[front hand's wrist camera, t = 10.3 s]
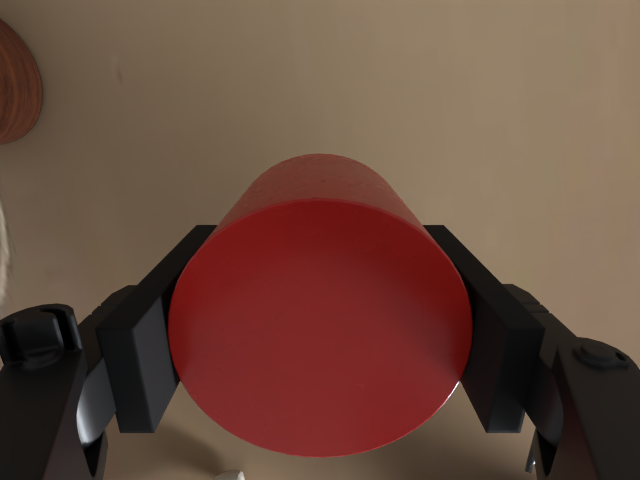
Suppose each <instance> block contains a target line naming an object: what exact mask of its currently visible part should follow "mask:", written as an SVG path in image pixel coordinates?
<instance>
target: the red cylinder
mask: <svg viewBox="0 0 640 480" xmlns="http://www.w3.org/2000/svg"><path fill="white" fill-rule="evenodd" d="M167 331H168V341H169V349H170V353H171V357H172V360H173V364H174V367H175V369H176V371H177V374H178V376H179V378H180V380H181V382H182V384H183V385H184V387H185V389H186V390H187V392H188V394H189V395H190V396H191V398H192V399H193V400H194V401H195V403H196V404H197V405H198V406H199V407H200V408H201V409H202V410H203V411H204V412H205V413H206V414H207V415H208V416H209V417H210V418H211V419H212V420H213V421H215V422H216V423H217V424H219V425H220V426H221V427H222V428H224V429H225V430H227V431H228V432H230V433H232V434H233V435H235V436H237V437H238V438H240V439H243V440H245V441H247V442H249V443H251V444H253V445H256V446H259V447H262V448H264V449H267V450H270V451H274V452H278V453H283V454H287V455H294V456H301V457H319V458H324V457H340V456H346V455H353V454H358V453H362V452H366V451H370V450H373V449H376V448H379V447H382V446H384V445H387V444H390V443H392V442H394V441H396V440H398V439H400V438H402V437H404V436H406V435H407V434H409V433H410V432H412V431H413V430H415V429H417V428H418V427H420V426H421V425H422V424H423V423H424V422H426V421H427V420H428V419H429V418H431V417H432V416H433V415H434V414H435V413H436V412H437V411H438V410H439V409H440V408H441V407H442V406H443V405H444V403H445V402H446V401H447V399H448V398H449V397H450V395H451V394H452V393H453V391H454V390H455V388H456V386H457V384H458V383H459V381H460V379H461V377H462V375H463V372H464V370H465V367H466V365H467V362H468V359H469V354H470V350H471V345H472V333H473V321H472V309H471V305H470V301H469V297H468V293H467V290H466V288H465V286H464V283H463V281H462V278H461V276H460V274H459V273H458V271H457V269H456V268H455V266H454V264H453V263H452V261H451V260H450V258H449V257H448V256H447V255H446V253H445V252H444V251H443V250H442V249H441V247H440V246H439V245H438V244H437V242H436V241H435V240H434V239H433V238H432V236H431V235H430V234H429V233H428V231H427V230H426V229H425V228H424V227H423V225H422V224H421V223H420V222H419V221H418V219H417V218H416V217H415V216H414V214H413V213H412V212H411V211H410V210H409V208H408V207H407V206H406V205H405V203H404V202H403V201H402V200H401V199H400V197H399V196H398V195H397V194H396V193H395V191H394V190H393V189H392V188H391V187H390V185H389V184H388V183H387V182H386V181H385V180H384V179H383V178H382V177H381V176H380V175H379V174H378V173H376V172H375V171H373V170H372V169H370V168H369V167H367V166H366V165H364V164H362V163H359V162H357V161H355V160H352V159H349V158H346V157H343V156H338V155H332V154H309V155H303V156H298V157H294V158H291V159H288V160H285V161H283V162H281V163H279V164H277V165H275V166H273V167H271V168H270V169H268V170H267V171H266V172H264V173H263V174H261V175H260V176H259V177H258V178H257V179H256V180H255V181H254V182H253V183H252V184H251V186H250V187H249V188H248V189H247V190H246V192H245V193H244V194H243V195H242V197H241V198H240V199H239V200H238V201H237V203H236V204H235V205H234V206H233V208H232V209H231V210H230V211H229V212H228V214H227V215H226V216H225V217H224V219H223V220H222V221H221V222H220V223H219V225H218V226H217V227H216V228H215V229H214V231H213V232H212V233H211V234H210V236H209V237H208V238H207V239H206V240H205V242H204V243H203V244H202V245H201V247H200V248H199V249H198V250H197V252H196V253H195V254H194V255H193V257H192V258H191V259H190V260H189V262H188V263H187V265H186V266H185V268H184V270H183V272H182V273H181V275H180V277H179V279H178V281H177V284H176V286H175V289H174V292H173V294H172V298H171V303H170V307H169V312H168V329H167Z"/></svg>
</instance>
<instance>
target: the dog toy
mask: <svg viewBox="0 0 640 480" xmlns="http://www.w3.org/2000/svg"><path fill="white" fill-rule="evenodd" d="M213 480H244V475H243V472H241V471H240V470H229V471H226V472H223V473H221V474H219V475H217V476H216V477H215V478H214V479H213Z"/></svg>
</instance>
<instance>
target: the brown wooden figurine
mask: <svg viewBox="0 0 640 480" xmlns="http://www.w3.org/2000/svg"><path fill="white" fill-rule="evenodd" d="M41 105H42V85H41V79H40V75H39V72H38V69H37V66H36V64H35V61H34V59H33V57H32V55H31V53H30V52H29V50H28V48H27V47H26V45H25V44H24V42H23V41H22V40H21V39H20V37H19V36H18V35H17V34H16V33H15V32H14V31H13V30H12V29H11V28H10V27H9V26H8V25H7V24H6V23H5V22H4V21H2V20H1V19H0V144H6V143H10V142H13V141H15V140H17V139H19V138H21V137H22V136H24V135H25V134H26V133H27V132H28V131H29V130H30V129H31V128H32V127H33V125H34V124H35V122H36V120H37V118H38V116H39V113H40V109H41Z"/></svg>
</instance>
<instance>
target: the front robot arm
mask: <svg viewBox="0 0 640 480" xmlns="http://www.w3.org/2000/svg"><path fill="white" fill-rule="evenodd" d="M217 226H218V225H196V226H195V227H194V228H193V229H192V230H191V231H190V232H189V233H188V234H187V235H186V236H185V237H184V238H183V239H182V240H181V242H180V243H179V244H178V245H177V246H176V247H175V248H174V249H173V250H172V251H171V252H170V253H169V254H168V255H167V256H166V257H165V258H164V259H163V260H162V261H161V262H160V263H159V264H158V265H157V266H156V267H155V268H154V269H153V270H152V271H151V272H150V273H149V274H148V275H147V276H146V277H145V278H144V279H143V280H142V281H141V282H140V283H139V284H138V285H128V286H126V287H124V288H122V289H120V290H118V291H116V292H115V293H113V294H111V295H110V296H109V297H108V298H107V299H106V300H105V301H104V302H103V303H102V304H101V306H98V307H97V308H96V309H95V310H94V311H93V312H92V315H89V316H88V317H86V318H85V319H84V320H83V321H82V322H81V323H80V324H79V325H78V326H77V322H76V318H75V314H74V310H73V308H71V307H70V306H68V305H64V304H45V305H39V306H35V307H31V308H27V309H24V310H21V311H18V312H16V313H13V314H11V315H9V316H7V317H5V318H3V319H2V320H0V356H1V358H2V361H3V364H4V366H3V367H2V369H1V371H0V480H103V475H104V469H105V462H106V455H107V449H108V442H107V436H106V432H105V428H106V426H107V425H108V423H109V422H110V420H111V418H112V417H113V415H114V414H116V418H117V422H118V426H119V430H120V433H154V432H155V430H156V428H157V426H158V424H159V422H160V420H161V418H162V416H163V414H164V412H165V410H166V408H167V406H168V404H169V402H170V400H171V398H172V396H173V394H174V392H175V390H176V388H177V386H178V384H179V382H180V378H179V376H178V374H177V371H176V369H175V367H174V364H173V360H172V357H171V353H170V349H169V341H168V331H167V329H168V312H169V307H170V303H171V298H172V294H173V292H174V289H175V286H176V284H177V281H178V279H179V277H180V275H181V273H182V272H183V270H184V268H185V266H186V265H187V263H188V262H189V260H190V259H191V258H192V257H193V255H194V254H195V253H196V252H197V250H198V249H199V248H200V247H201V245H202V244H203V243H204V242H205V240H206V239H207V238H208V237H209V236H210V234H211V233H212V232H213V231H214V229H215V228H216V227H217ZM423 227H424V228H425V229H426V230H427V231H428V233H429V234H430V235H431V236H432V238H433V239H434V240H435V241H436V242H437V244H438V245H439V246H440V247H441V249H442V250H443V251H444V252H445V253H446V255H447V256H448V257H449V258H450V260H451V261H452V263H453V264H454V266H455V268H456V269H457V271H458V273H459V274H460V276H461V278H462V281H463V283H464V286H465V288H466V290H467V293H468V297H469V301H470V305H471V309H472V321H473V333H472V345H471V350H470V354H469V359H468V362H467V365H466V367H465V370H464V372H463V375H462V377H461V379H460V381H461V383H462V385H463V387H464V389H465V391H466V393H467V395H468V397H469V399H470V401H471V403H472V405H473V407H474V409H475V411H476V413H477V415H478V417H479V419H480V421H481V423H482V425H483V427H484V429H485V431H486V433H520V431H521V427H522V423H523V419H524V415H525V411H526V413H527V415H528V416H529V418H530V419H531V421H532V422H533V424H534V425H535V427H536V428H535V432H534V436H533V440H532V444H531V447H530V451H529V455H528V459H527V463H526V469H525V471H526V472H529V473H531V471H532V467H533V464H535V468H536V474H537V480H640V370H639V368H638V367H637V365H636V364H635V363H634V361H633V360H632V359H631V358H630V357H629V356H628V355H626V354H624V353H623V352H621V351H620V350H618V349H617V348H615V347H612V346H610V345H608V344H605V343H603V342H600V341H596V340H593V339H589V338H581V337H576V336H575V335H574V334H573V333H572V332H571V331H570V330H569V329H568V328H567V327H566V326H565V325H563V324H562V323H561V322H560V321H559V320H558V319H557V318H556V317H555V316H554V315H553V314H551V313H549V311H548V310H547V309H546V308H545V307H544V306H543V305H540V302H538V301H537V300H536V299H535V298H534V297H533V296H532V295H531V294H530V293H529V292H527V291H525V290H523V289H521V288H519V287H517V286H515V285H513V284H501V283H500V282H499V281H498V280H497V279H496V278H495V277H494V276H493V275H492V274H491V273H490V271H489V270H488V269H487V268H486V267H485V266H484V265H483V264H482V263H481V262H480V261H479V260H478V259H477V258H476V257H475V256H474V255H473V254H472V253H471V252H470V251H469V250H468V249H467V248H466V247H465V246H464V245H463V244H462V243H461V242H460V241H459V240H458V239H457V238H456V237H455V236H454V235H453V234H452V233H451V232H450V231H449V230H448V229H447V228H446V227H445V226H444V225H423Z"/></svg>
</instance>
